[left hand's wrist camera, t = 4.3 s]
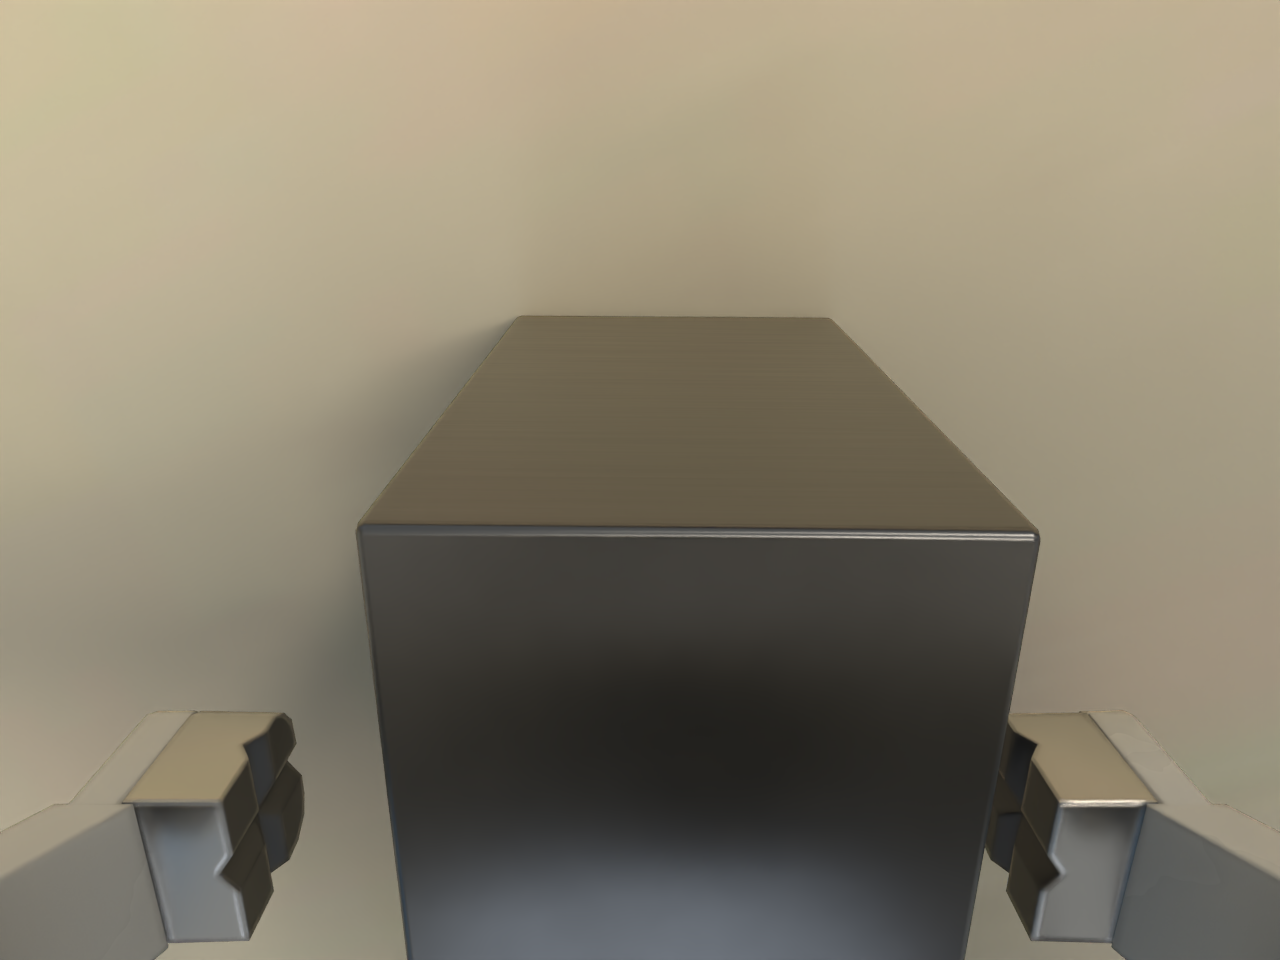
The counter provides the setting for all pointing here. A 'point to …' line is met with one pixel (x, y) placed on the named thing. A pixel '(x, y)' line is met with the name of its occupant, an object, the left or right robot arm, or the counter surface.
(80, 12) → the counter surface
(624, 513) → the bar
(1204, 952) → the left robot arm
